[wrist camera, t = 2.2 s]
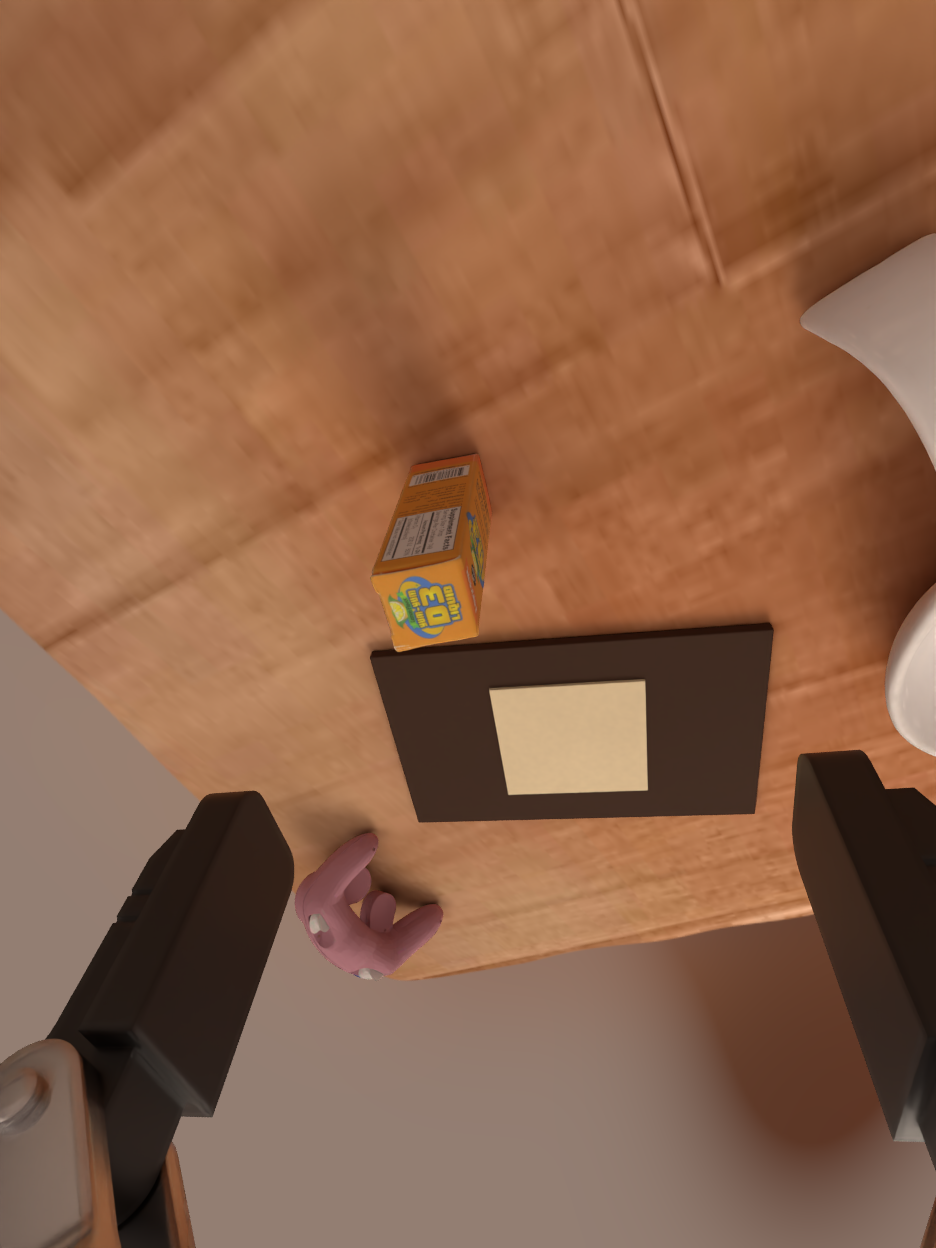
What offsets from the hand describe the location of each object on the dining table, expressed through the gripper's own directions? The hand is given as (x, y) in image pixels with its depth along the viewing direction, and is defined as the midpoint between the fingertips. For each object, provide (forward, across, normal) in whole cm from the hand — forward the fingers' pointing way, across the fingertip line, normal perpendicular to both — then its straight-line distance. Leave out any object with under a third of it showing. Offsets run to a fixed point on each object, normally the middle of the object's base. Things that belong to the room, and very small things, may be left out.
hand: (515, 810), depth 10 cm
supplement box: (+22, +4, +4) cm, 22 cm away
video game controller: (+22, +16, +31) cm, 41 cm away
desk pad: (+22, +1, +19) cm, 28 cm away
